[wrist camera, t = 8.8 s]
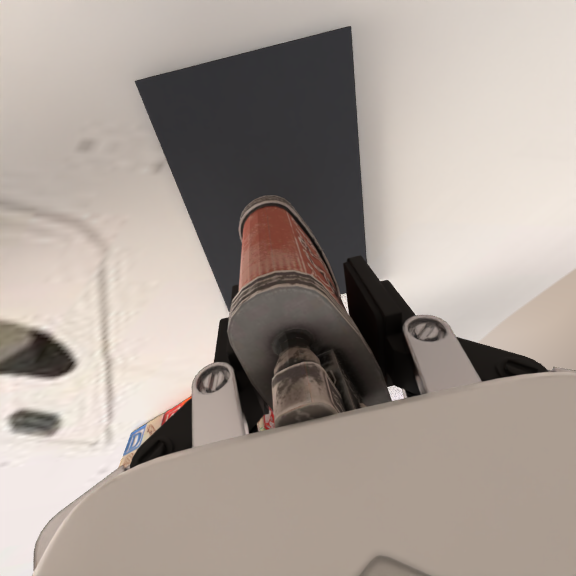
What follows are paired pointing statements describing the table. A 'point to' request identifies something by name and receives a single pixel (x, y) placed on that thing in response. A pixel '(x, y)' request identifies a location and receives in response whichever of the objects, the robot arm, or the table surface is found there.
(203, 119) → the charcoal mat
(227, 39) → the table surface
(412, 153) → the table surface
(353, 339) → the lighter
